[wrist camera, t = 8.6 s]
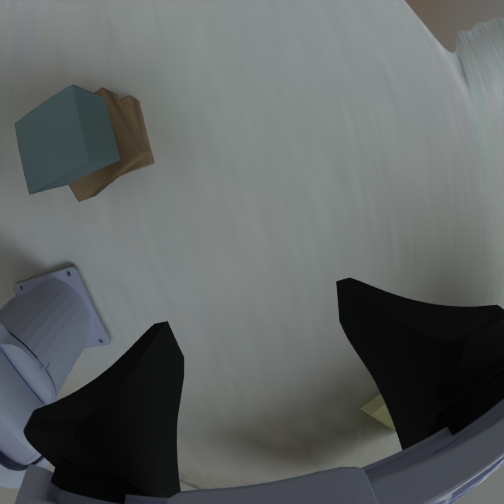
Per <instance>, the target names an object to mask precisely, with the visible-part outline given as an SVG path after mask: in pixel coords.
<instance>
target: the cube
mask: <svg viewBox="0 0 504 504" xmlns="http://www.w3.org/2000/svg"><path fill="white" fill-rule="evenodd" d="M15 128H16V135H17V141H18V146H19V152H20V157H21V161H22V166H23V170H24V175H25V179H26V183H27V187H28V190H29V194H33V193H37V192H41V191H45V190H48V189H52V188H56V187H60V186H65V185H68V184H70V183H72V182H74V181H76V180H78V179H80V178H82V177H84V176H86V175H88V174H90V173H92V172H94V171H97V170H99V169H101V168H103V167H105V166H108V165H110V164H112V163H114V162H117V161H119V160H121V159H120V155H119V152H118V148H117V144H116V140H115V137H114V133H113V129H112V125H111V121H110V117H109V113H108V108H107V104H106V99H105V98H103V97H101V96H99V95H97V94H94V93H92V92H90V91H87V90H85V89H83V88H80V87H78V86H76V85H71V86H69V87H67V88H66V89H64V90H63V91H61V92H59V93H58V94H56V95H55V96H53V97H51V98H50V99H48V100H47V101H45V102H44V103H42V104H41V105H40V106H38V107H37V108H35V109H34V110H32V111H31V112H30V113H28V114H27V115H26V116H24V117H23V118H22V119H20V120H19V121H18V122H17V123H15Z"/></svg>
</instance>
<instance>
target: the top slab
mask: <svg viewBox="0 0 504 504" xmlns="http://www.w3.org/2000/svg"><path fill="white" fill-rule="evenodd" d="M94 94H97V95H99V96H101V97H103V98H105V99H106V104H107V108H108V113H109V117H110V121H111V125H112V129H113V133H114V137H115V140H116V144H117V148H118V152H119V155H120V159H121V160H119V161H117V162H114V163H112V164H110V165H108V166H105V167H103V168H101V169H99V170H97V171H94V172H92V173H90V174H88V175H86V176H84V177H82V178H80V179H78V180H76V181H74V182H72V183H70V184H68V185H69V186H70V188H71V190H72V192H73V193H74V195H75V197H76V198H77V200H78V202H80V201H83V200H86V199H88V198H91V197H94V196H96V195H97V194H98V193H99V192H101V191H102V190H103V189H104V188H105V187H107V186H108V185H109V184H110V183H112V182H113V181H114V180H115V179H117V178H118V177H119V176H120V175H122V174H123V173H124V172H126V171H127V170H128V169H129V168H131V167H132V166H133V165H135V164H136V163H137V162H139V161H140V160H142V159H143V158H144V157H146V156H147V155H149V154H150V153H151V151H150V149H149V147H148V146H147V144H146V143H145V141H144V139H143V138H142V136H141V134H140V133H139V131H138V129H137V128H136V126H135V125H134V123H133V121H132V120H131V118H130V116H129V115H128V113H127V111H126V109H125V108H124V106H123V104H122V103H121V101H120V99H119V98H118V96H117V95H116V94H114V93H112V92H110V91H108V90H106V89H104V88H100V89H99V90H98V91H97V92H95V93H94Z"/></svg>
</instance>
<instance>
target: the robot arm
mask: <svg viewBox="0 0 504 504" xmlns="http://www.w3.org/2000/svg"><path fill="white" fill-rule="evenodd" d="M68 271H69V272H70V274H71V275H70V274H69V273H68ZM336 285H337V296H338V307H339V321H340V323H341V325H342V328H343V330H344V332H345V334H346V336H347V338H348V340H349V342H350V343H351V345H352V346H353V348H354V349H355V351H356V352H357V354H358V355H359V357H360V358H361V360H362V361H363V363H364V364H365V366H366V367H367V369H368V371H369V372H370V374H371V375H372V377H373V379H374V381H375V382H376V384H377V387H378V389H379V391H380V393H381V395H382V397H383V399H384V402H385V404H386V406H387V409H388V411H389V414H390V416H391V419H392V421H393V424H394V427H395V429H396V432H397V435H398V438H399V441H400V444H401V447H402V451H400V452H398V453H396V454H394V455H391V456H389V457H387V458H385V459H382V460H380V461H377V462H375V463H372V464H370V465H367V466H365V467H362V468H358V467H338V468H333V469H328V470H323V471H318V472H314V473H310V474H306V475H302V476H298V477H293V478H288V479H284V480H278V481H273V482H267V483H261V484H254V485H247V486H238V487H228V488H215V489H198V490H190V491H181V490H180V483H179V473H178V462H177V419H178V412H179V406H180V399H181V393H182V386H183V380H184V356H183V354H182V352H181V350H180V348H179V345H178V343H177V341H176V339H175V337H174V334H173V332H172V330H171V328H170V325H169V323H168V321H166V322H161V323H156V324H154V325H153V326H151V327H150V328H149V329H148V330H147V331H146V332H145V333H144V334H143V335H142V336H141V337H140V338H139V339H138V340H137V341H136V342H135V344H134V345H133V346H132V347H131V348H130V349H129V350H128V351H127V352H126V353H125V354H124V355H122V356H121V357H120V358H119V359H118V360H117V361H116V362H115V363H114V364H113V365H112V366H111V367H110V368H108V369H107V370H106V371H105V372H103V373H102V374H101V375H100V376H98V377H97V378H96V379H94V380H93V381H91V382H90V383H88V384H87V385H85V386H84V387H82V388H80V389H79V390H77V391H76V392H74V393H72V394H70V395H68V396H66V397H64V398H62V399H60V400H58V398H57V394H58V392H59V390H60V389H61V387H62V385H63V383H64V381H65V380H66V378H67V376H68V374H69V373H70V371H71V369H72V367H73V366H74V364H75V362H76V361H77V359H78V357H79V356H80V354H81V352H82V351H83V349H84V347H92V346H100V345H107V344H109V343H110V341H111V339H110V337H109V335H108V333H107V331H106V329H105V327H104V325H103V323H102V321H101V319H100V317H99V315H98V313H97V311H96V309H95V307H94V305H93V303H92V301H91V298H90V296H89V294H88V292H87V290H86V287H85V285H84V283H83V280H82V278H81V276H80V273H79V271H78V269H77V267H75V266H69V267H66V268H63V269H60V270H57V271H53V272H50V273H47V274H44V275H41V276H38V277H35V278H32V279H29V280H26V281H23V282H20V283H17V284H15V285H14V286H13V289H14V292H15V294H16V296H15V297H14V298H13V299H11V300H10V301H9V302H8V303H7V304H6V305H5V306H3V307H2V308H1V309H0V487H4V488H13V489H19V492H18V495H17V498H16V501H15V504H452V503H453V502H455V501H456V500H458V499H459V498H461V497H462V496H463V495H465V494H466V493H468V492H469V491H470V490H472V489H473V488H474V487H476V486H477V485H478V484H480V483H481V482H482V481H484V480H485V479H486V478H487V477H488V476H490V475H491V474H492V473H493V472H495V471H496V470H497V469H498V468H499V467H500V466H501V465H503V464H504V309H502V308H501V307H500V306H498V305H489V306H477V307H457V306H445V305H436V304H430V303H424V302H420V301H415V300H411V299H407V298H404V297H401V296H398V295H395V294H392V293H389V292H386V291H383V290H381V289H378V288H376V287H373V286H371V285H368V284H366V283H363V282H361V281H358V280H355V279H352V278H346V279H343V280H339V281H336ZM100 339H102V340H103V341H101V340H100ZM50 464H52V465H53V466H54V467H55V471H54V473H52V472H51V471H49V470H47V469H45V468H46V467H47V466H49V465H50Z"/></svg>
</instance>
